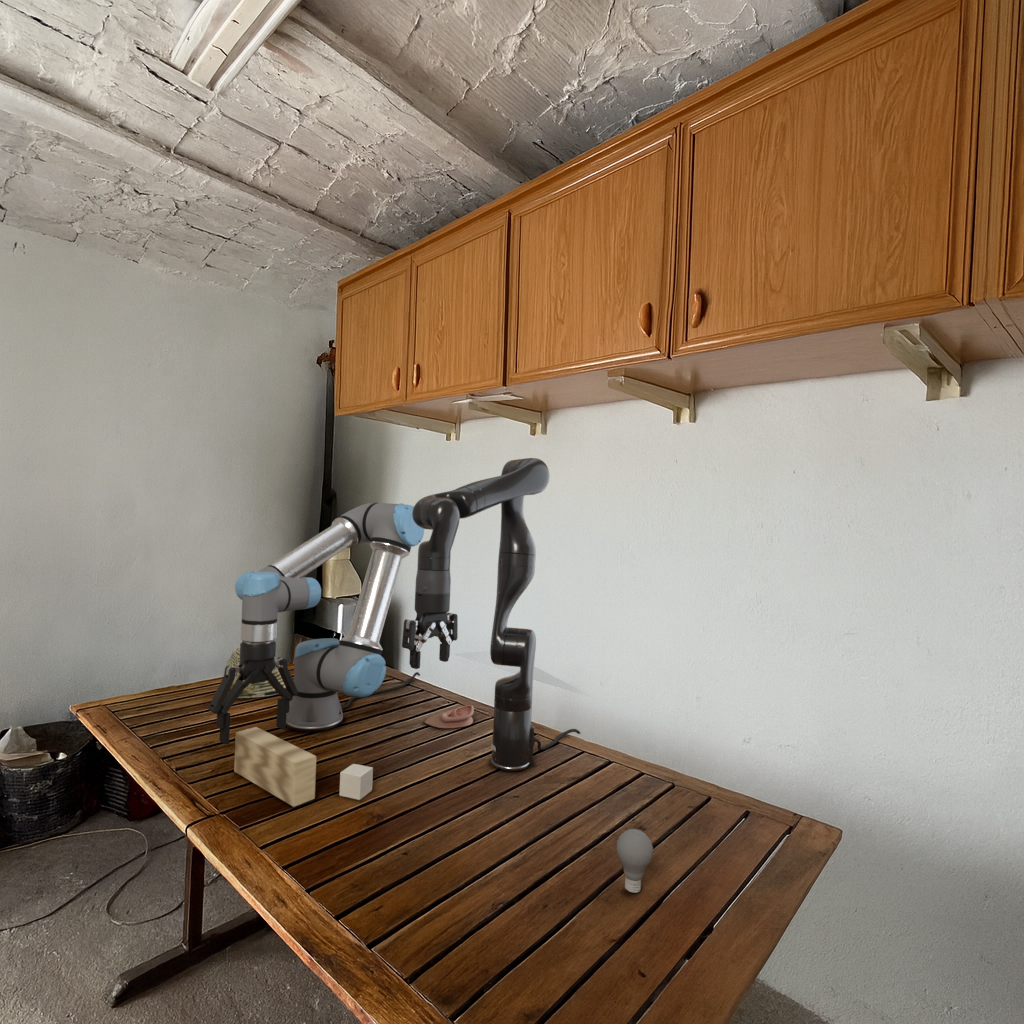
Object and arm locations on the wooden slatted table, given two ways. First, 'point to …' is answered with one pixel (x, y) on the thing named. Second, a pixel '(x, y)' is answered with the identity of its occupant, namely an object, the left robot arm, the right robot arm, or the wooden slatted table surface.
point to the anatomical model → (452, 718)
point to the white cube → (356, 781)
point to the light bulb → (634, 857)
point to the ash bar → (275, 765)
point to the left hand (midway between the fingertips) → (253, 735)
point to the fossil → (259, 688)
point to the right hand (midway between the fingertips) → (429, 664)
